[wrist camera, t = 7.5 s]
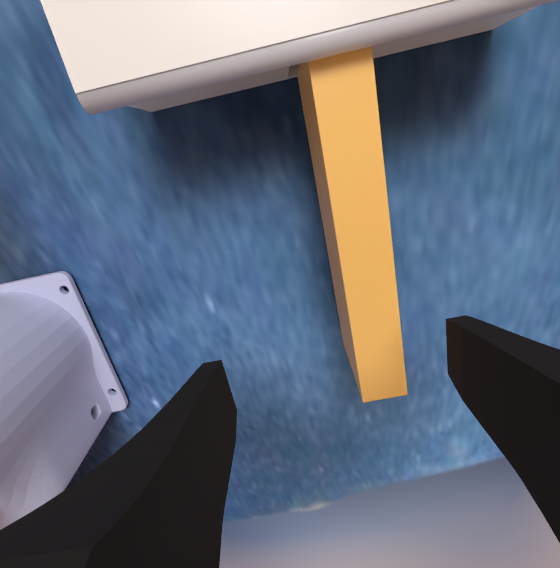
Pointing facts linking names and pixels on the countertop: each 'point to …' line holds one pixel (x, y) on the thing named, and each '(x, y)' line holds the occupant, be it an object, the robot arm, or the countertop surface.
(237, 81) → the dispenser
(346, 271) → the tab
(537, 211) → the countertop surface
